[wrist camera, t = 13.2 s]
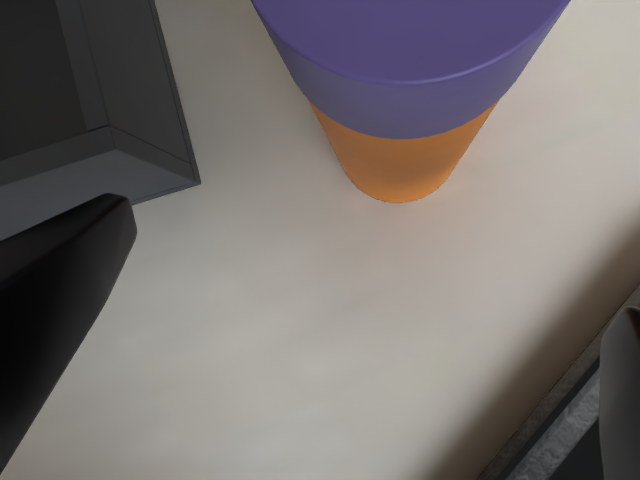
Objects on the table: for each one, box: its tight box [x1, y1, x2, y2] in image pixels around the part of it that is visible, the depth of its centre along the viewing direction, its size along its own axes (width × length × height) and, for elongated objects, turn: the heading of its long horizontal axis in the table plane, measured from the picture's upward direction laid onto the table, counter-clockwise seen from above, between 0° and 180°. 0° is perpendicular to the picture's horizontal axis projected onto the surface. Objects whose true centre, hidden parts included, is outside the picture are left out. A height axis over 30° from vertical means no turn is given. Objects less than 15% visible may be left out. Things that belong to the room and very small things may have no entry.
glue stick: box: [251, 0, 571, 203], centre depth 11 cm, size 4×4×12 cm
